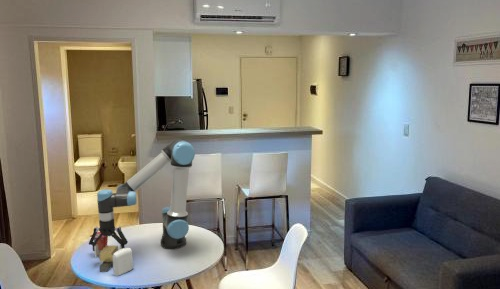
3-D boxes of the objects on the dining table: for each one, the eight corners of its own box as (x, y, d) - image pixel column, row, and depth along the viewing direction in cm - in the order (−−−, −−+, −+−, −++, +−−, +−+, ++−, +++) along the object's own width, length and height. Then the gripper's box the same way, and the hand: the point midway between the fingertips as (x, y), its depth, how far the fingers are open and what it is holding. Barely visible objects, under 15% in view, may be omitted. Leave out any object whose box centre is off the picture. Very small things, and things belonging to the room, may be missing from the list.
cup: (105, 249, 237) (104, 230, 235) (112, 254, 231) (111, 234, 229) (89, 254, 231) (88, 234, 228) (96, 259, 225) (94, 239, 223)
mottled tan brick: (118, 260, 224) (117, 245, 223) (112, 267, 215) (111, 252, 214) (107, 260, 224) (105, 245, 223) (100, 267, 215) (99, 252, 214)
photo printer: (117, 276, 206) (115, 254, 204) (112, 274, 209) (110, 251, 206) (134, 269, 214) (133, 247, 211) (129, 266, 216) (128, 245, 214)
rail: (112, 256, 229) (111, 251, 228) (119, 256, 229) (118, 251, 228) (99, 272, 211) (99, 266, 210) (107, 272, 211) (106, 266, 210)
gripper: (132, 216, 219) (134, 253, 222) (86, 216, 219) (89, 253, 223) (127, 221, 211) (130, 259, 215) (80, 221, 212) (83, 259, 216)
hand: (109, 256), depth 219 cm, fingers open, 13 cm apart
